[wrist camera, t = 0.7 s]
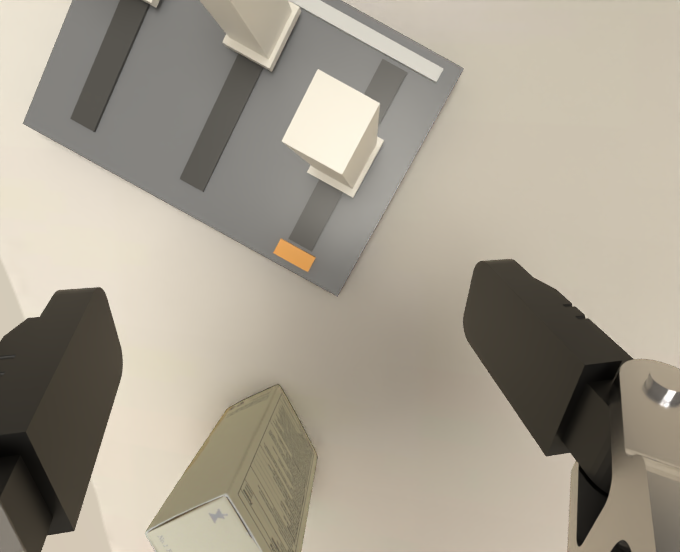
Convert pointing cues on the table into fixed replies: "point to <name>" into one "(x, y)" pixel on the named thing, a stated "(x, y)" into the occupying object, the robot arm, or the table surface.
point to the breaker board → (239, 114)
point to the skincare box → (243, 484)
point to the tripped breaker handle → (335, 132)
